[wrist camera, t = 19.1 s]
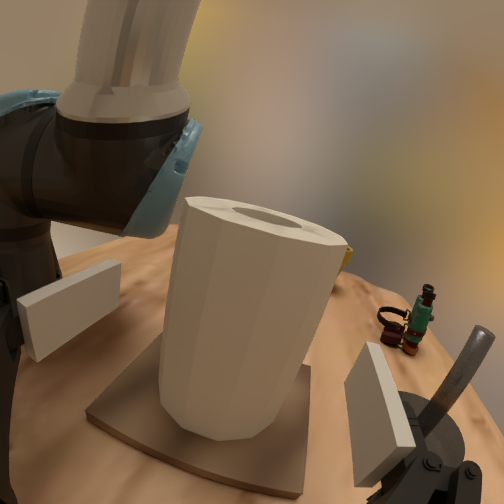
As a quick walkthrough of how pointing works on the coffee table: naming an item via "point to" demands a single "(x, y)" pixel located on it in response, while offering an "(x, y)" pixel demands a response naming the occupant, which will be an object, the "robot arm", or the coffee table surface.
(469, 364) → the disc
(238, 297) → the towel roll
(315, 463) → the coffee table surface
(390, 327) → the binoculars
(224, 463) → the cutting board
